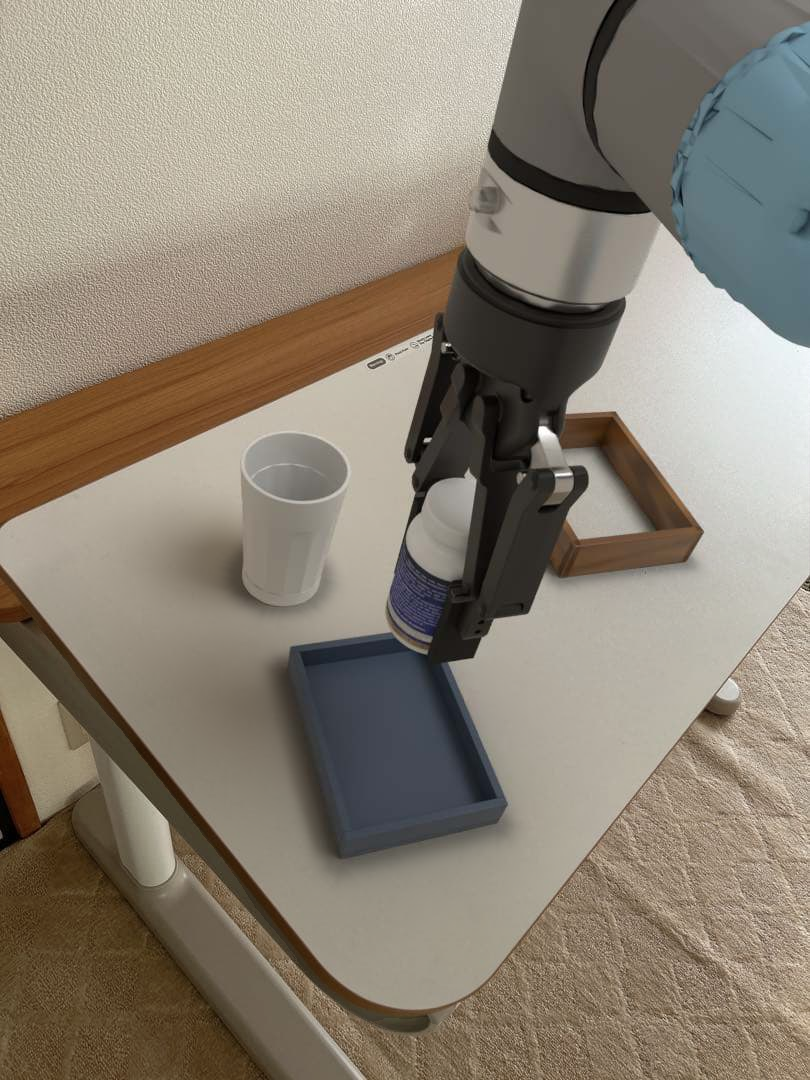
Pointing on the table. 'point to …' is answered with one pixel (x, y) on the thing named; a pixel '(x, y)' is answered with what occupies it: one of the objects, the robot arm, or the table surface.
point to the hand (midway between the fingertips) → (432, 613)
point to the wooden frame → (649, 490)
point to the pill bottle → (430, 562)
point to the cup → (289, 513)
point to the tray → (391, 744)
